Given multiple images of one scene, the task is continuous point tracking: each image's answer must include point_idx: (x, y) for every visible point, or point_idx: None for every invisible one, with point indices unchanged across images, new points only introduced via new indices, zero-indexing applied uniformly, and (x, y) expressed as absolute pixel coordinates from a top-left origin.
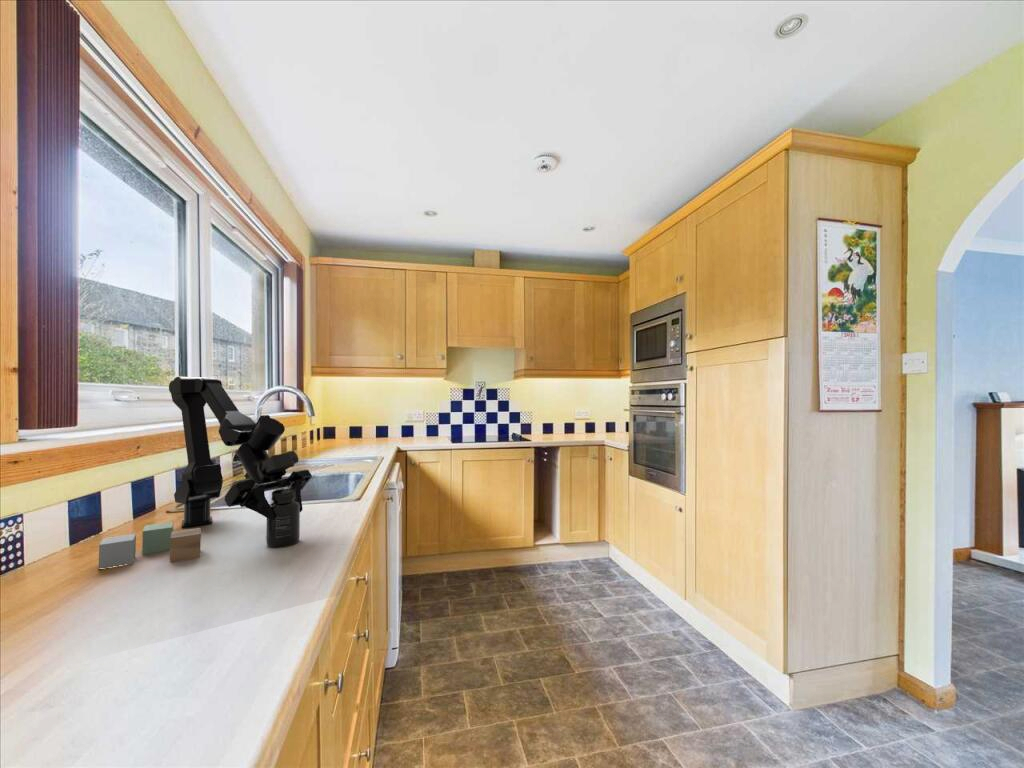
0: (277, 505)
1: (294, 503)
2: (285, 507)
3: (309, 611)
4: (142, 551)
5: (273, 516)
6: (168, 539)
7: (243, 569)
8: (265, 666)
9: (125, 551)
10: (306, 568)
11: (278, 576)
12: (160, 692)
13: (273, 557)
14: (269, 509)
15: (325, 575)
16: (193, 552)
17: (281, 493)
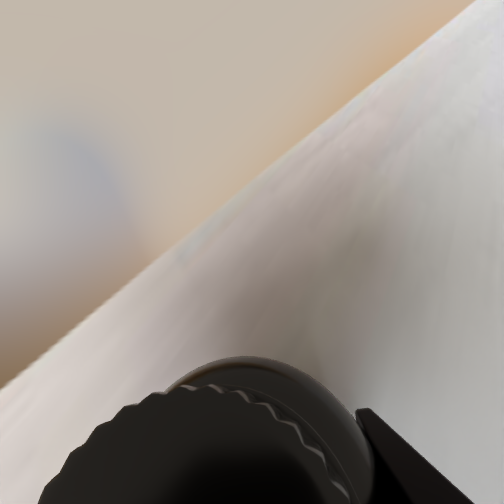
0: (337, 445)
1: (195, 384)
2: (287, 369)
3: (405, 70)
4: None
5: (370, 412)
6: None
7: (486, 292)
8: (486, 20)
9: None
10: (336, 185)
11: (406, 186)
12: None
13: (372, 318)
14: (414, 464)
15: (326, 139)
16: None
17: (299, 433)
